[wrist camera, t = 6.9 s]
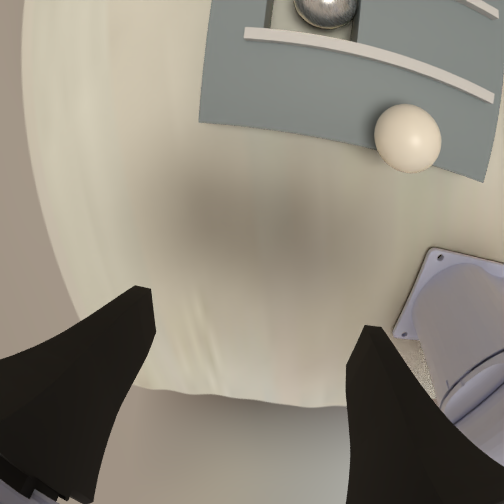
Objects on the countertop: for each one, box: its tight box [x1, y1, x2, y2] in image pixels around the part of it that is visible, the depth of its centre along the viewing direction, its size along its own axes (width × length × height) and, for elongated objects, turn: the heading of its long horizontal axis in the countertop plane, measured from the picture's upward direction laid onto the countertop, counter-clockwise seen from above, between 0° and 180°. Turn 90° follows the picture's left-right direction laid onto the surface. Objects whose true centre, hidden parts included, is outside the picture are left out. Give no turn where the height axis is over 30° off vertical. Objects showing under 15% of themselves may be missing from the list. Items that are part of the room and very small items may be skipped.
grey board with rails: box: [199, 0, 504, 183], centre depth 11 cm, size 16×15×3 cm
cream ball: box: [374, 104, 441, 173], centre depth 12 cm, size 3×3×3 cm
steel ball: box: [294, 0, 357, 29], centre depth 11 cm, size 3×3×3 cm
